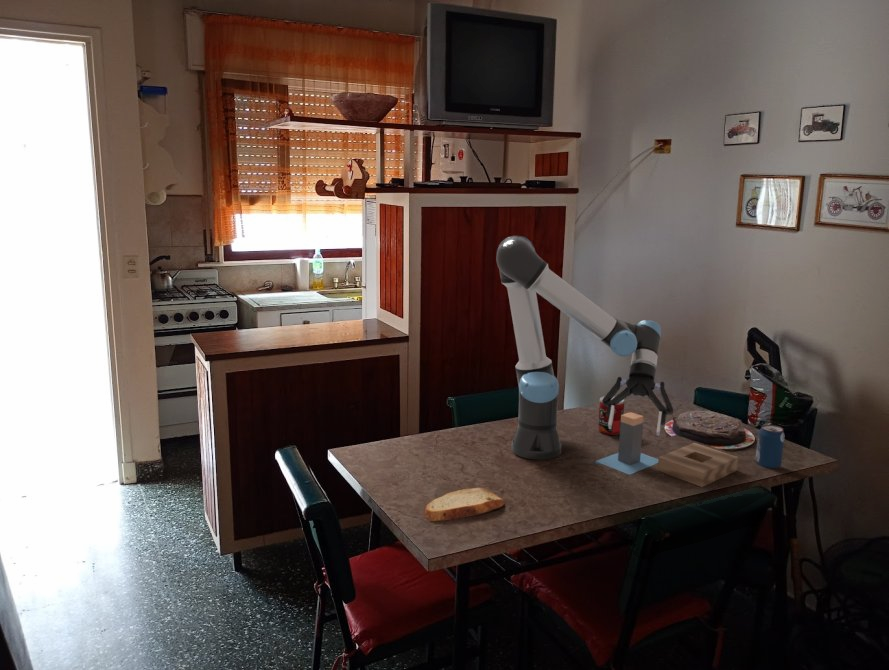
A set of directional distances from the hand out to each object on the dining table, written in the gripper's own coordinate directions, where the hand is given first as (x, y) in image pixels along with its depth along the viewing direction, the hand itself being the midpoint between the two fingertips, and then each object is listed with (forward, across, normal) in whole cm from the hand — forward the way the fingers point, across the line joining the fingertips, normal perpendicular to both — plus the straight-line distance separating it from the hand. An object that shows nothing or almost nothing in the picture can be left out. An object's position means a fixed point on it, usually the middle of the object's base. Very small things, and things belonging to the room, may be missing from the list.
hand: (633, 430), depth 205 cm
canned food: (-11, +10, -26) cm, 30 cm away
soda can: (-2, -37, -18) cm, 41 cm away
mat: (+7, +1, -8) cm, 11 cm away
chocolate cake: (-17, -20, -33) cm, 42 cm away
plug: (+7, +1, -7) cm, 10 cm away
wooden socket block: (+7, -18, -8) cm, 21 cm away
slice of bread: (+40, +36, +24) cm, 58 cm away
